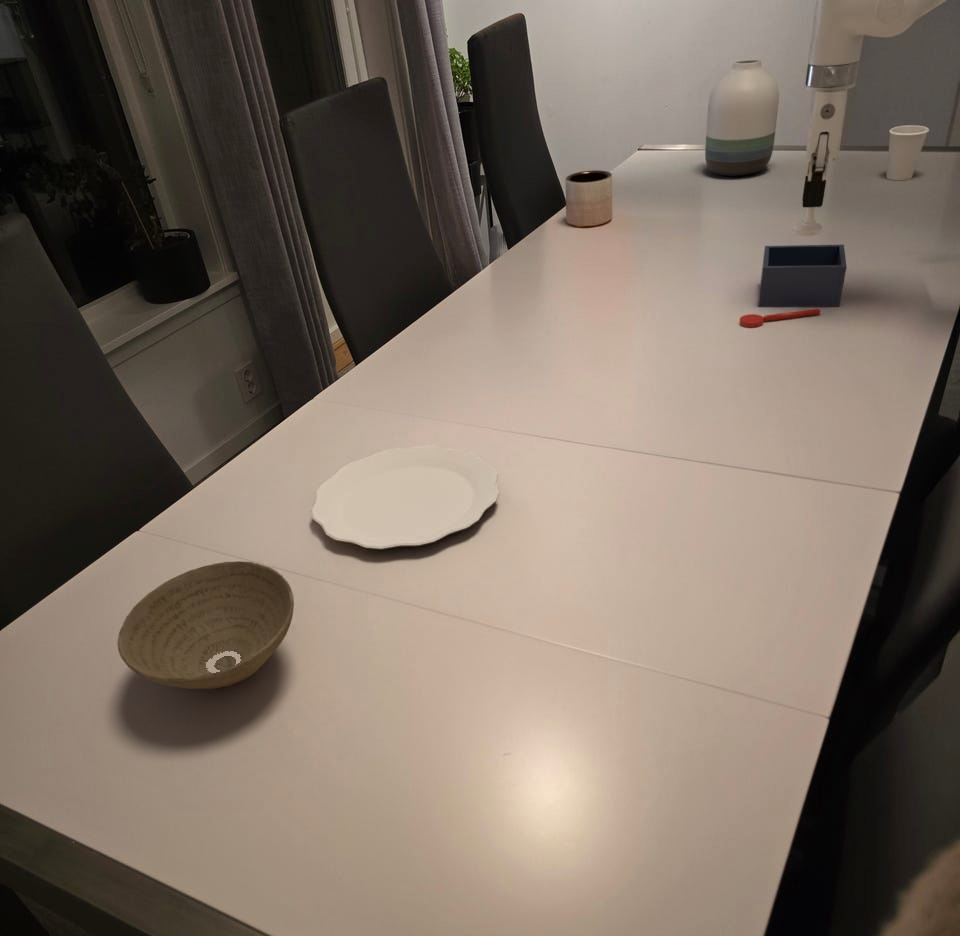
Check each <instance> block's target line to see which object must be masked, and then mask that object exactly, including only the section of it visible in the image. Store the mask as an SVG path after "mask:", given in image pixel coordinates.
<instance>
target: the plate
mask: <svg viewBox="0 0 960 936" xmlns="http://www.w3.org/2000/svg"><path fill="white" fill-rule="evenodd" d="M498 477H499V474H498V472H497V471H496V469H495V468H494V467H493V466H492V465H489V464H488V463H486V462H484V461H483V460H482V459H481V458H480V457H479V456H478V455H477V454H475V453H474V452H470V451H468V450H464V449H454V448H448V447H445V446H441V445H438V444H437V445H436V444H422V445H416V446H411V447H393V448H392V447H391V448H389V449H384V450H380V451H378V452H376V453H373V454H372V455H369V456H367V457H364V458H360V459H357V460H353V461H351V462H349V463H347V464H346V465H343V466H341V467H340V468H339V469H338V471H337V472H336V473H334V475H333V476H332V477H330V478H328V479H327V480H326V481H324V482H323V483H321V484H320V485H319V487H318V488H317V490H316V491H315V495H314V496H315V497H314V498H315V500H314V504H313V505H312V508H311V509H310V514H311V518H312V520H313V521H314V522H315V523H316V524H318V525H319V526H320V527H322V529H323V531H324V533H325V535H326V537H328V538H330V539H332V540H333V541H335V542H340V543H347V544H351V545H354V546H355V545H356V546H358V547H360V548H363V549H366V550H375V551H377V550H378V551H385V550H391V549H396V548H403V547H405V548H409V547H411V548H412V547H422V546H423V547H424V546H427V545H431V544H435V543H437V542H438V541H441V540H442V539H444V538H446V537H448V536H450V535H453V534H456V533H458V532H462V531H464V530H465V531H466V530H467V529H469V528H470V527H472V526H474V525H475V524H477V523H478V522H479V521H480V519H481V518H482V517H483V515H484V514H485V512H486V511H487V510H489V509H490V508H491V507H492V506H493V505H494V504H495V503H497V500H498V498H499V495H500V491H499V487H498V486H497V483H498Z"/></svg>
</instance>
